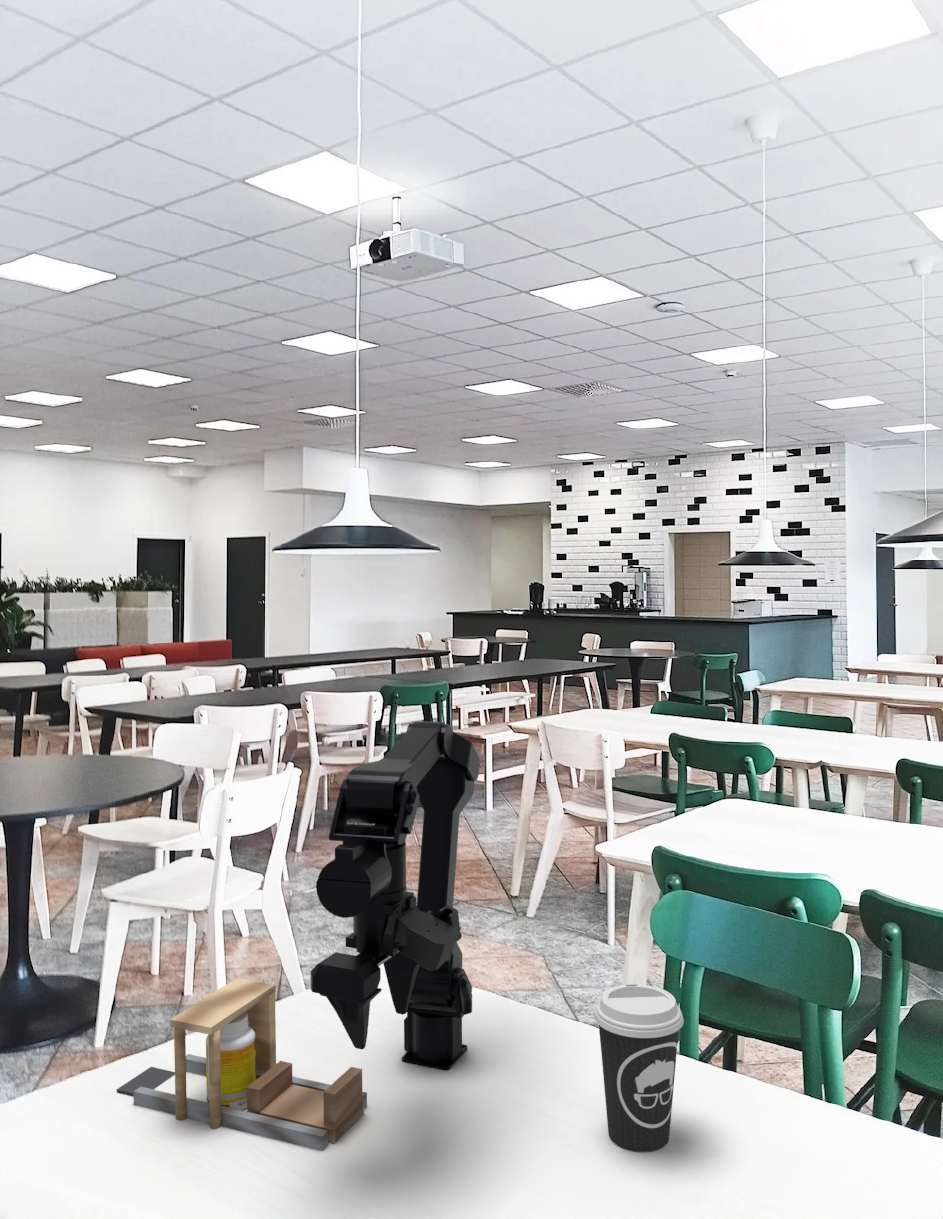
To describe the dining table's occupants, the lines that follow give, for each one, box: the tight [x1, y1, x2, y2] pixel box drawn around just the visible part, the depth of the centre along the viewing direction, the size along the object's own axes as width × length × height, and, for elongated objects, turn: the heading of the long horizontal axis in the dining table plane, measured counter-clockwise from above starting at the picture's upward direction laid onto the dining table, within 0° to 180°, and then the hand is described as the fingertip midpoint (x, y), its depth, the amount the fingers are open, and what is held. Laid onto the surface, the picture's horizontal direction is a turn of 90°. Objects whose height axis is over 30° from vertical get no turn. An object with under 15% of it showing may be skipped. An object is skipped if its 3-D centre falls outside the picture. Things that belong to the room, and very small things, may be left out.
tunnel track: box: [133, 977, 368, 1152], centre depth 117 cm, size 25×12×12 cm, turn 67°
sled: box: [246, 1060, 365, 1144], centre depth 114 cm, size 11×7×5 cm, turn 67°
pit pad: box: [116, 1066, 175, 1097], centre depth 123 cm, size 4×6×1 cm, turn 157°
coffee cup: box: [593, 983, 685, 1153], centre depth 110 cm, size 10×10×15 cm
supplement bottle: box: [205, 1012, 256, 1111], centre depth 118 cm, size 6×6×10 cm
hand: (381, 1030), depth 110 cm, fingers open, 9 cm apart
